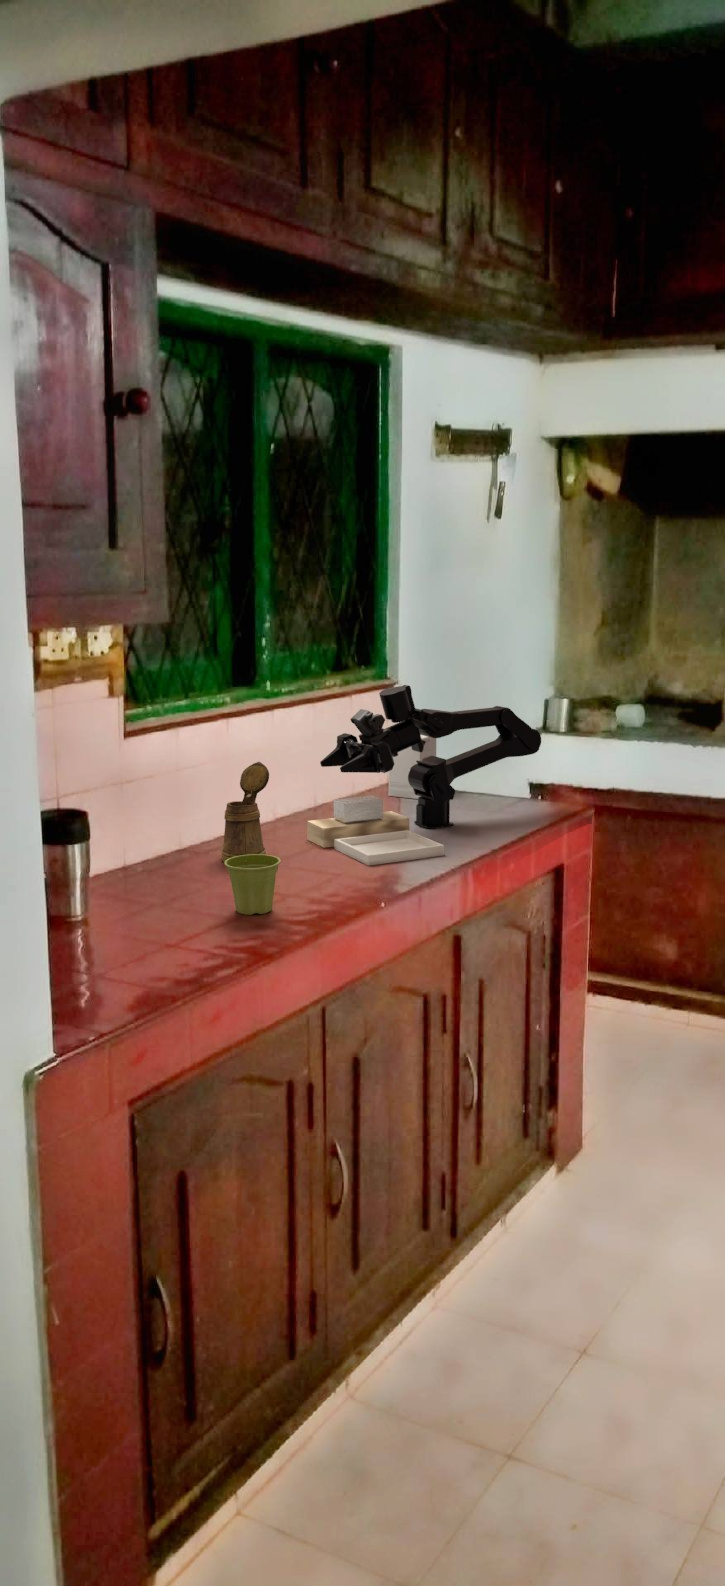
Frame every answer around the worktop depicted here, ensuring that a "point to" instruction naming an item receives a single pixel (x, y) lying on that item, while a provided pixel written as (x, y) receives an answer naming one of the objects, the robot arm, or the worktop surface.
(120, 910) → the worktop surface
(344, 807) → the light grey block
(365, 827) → the light wood plank
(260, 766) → the wooden mug
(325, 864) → the worktop surface
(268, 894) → the plant pot
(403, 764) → the supplement box
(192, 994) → the worktop surface
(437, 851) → the parts tray
